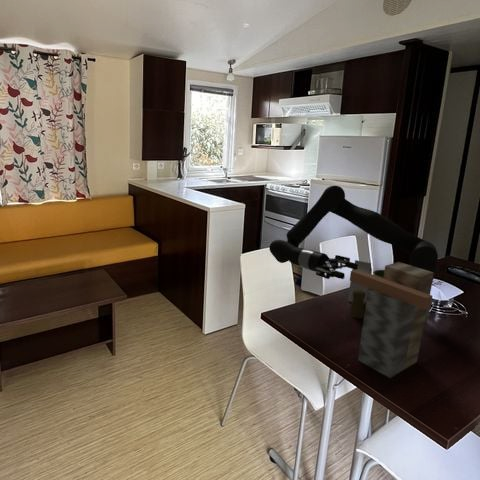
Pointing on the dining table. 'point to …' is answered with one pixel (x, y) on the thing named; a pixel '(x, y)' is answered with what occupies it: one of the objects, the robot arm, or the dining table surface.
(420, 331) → the stepped stand
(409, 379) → the dining table surface
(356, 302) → the olive cylinder
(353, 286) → the milk carton
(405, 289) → the block
